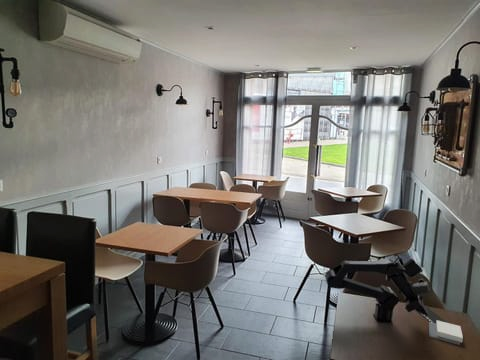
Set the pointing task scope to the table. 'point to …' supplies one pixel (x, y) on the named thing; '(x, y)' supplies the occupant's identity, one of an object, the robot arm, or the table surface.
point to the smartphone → (432, 316)
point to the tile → (449, 331)
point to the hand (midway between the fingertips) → (427, 315)
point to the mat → (434, 334)
